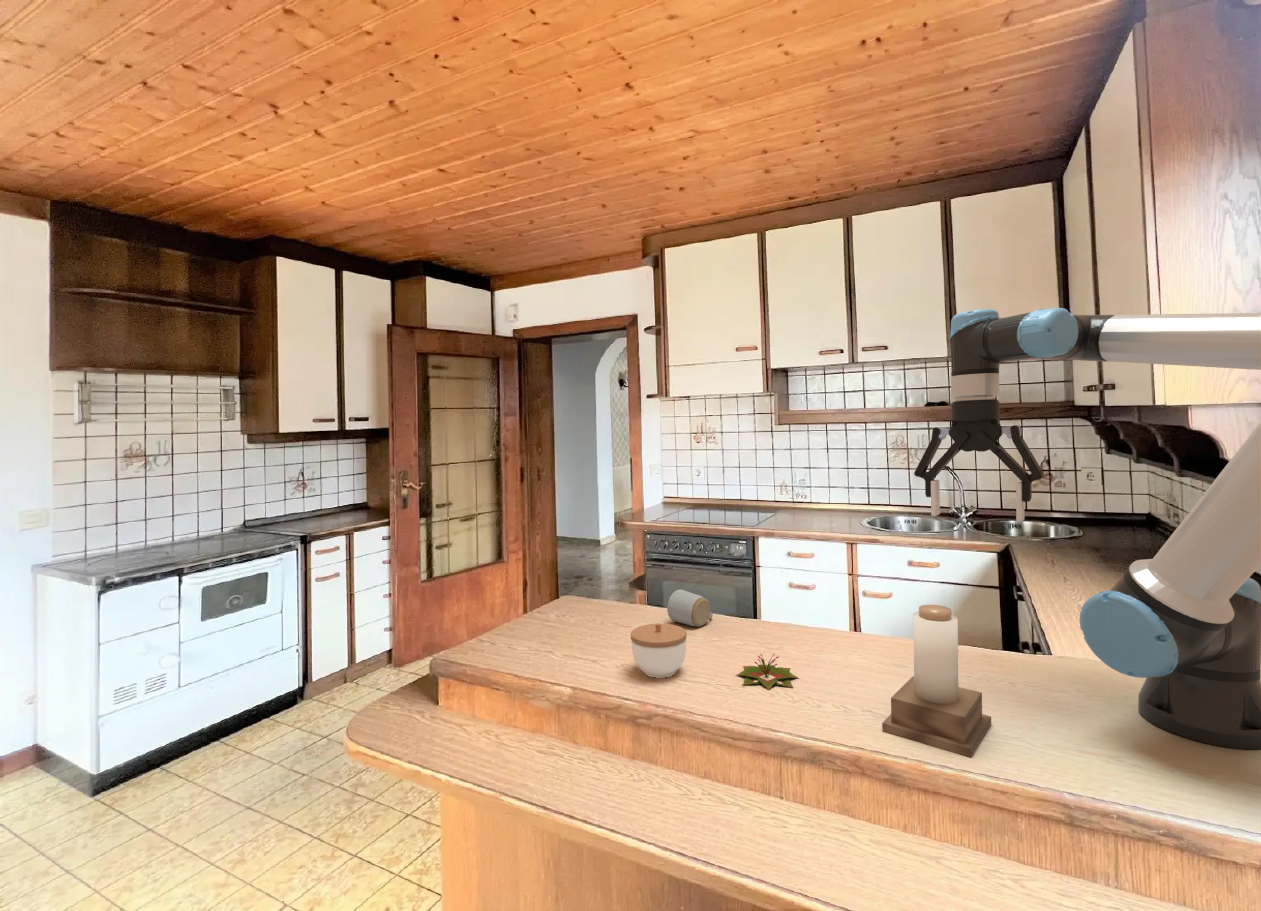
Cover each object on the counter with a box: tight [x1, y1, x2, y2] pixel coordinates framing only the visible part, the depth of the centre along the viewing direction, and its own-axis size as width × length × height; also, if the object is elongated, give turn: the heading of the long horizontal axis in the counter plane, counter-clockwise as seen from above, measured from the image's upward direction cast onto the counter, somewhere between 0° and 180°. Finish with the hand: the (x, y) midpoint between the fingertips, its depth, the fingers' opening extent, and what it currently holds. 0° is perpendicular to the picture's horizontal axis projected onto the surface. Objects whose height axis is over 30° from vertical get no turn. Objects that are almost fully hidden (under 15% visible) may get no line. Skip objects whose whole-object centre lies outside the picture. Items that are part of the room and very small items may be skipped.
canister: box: [912, 604, 960, 704], centre depth 92 cm, size 6×6×13 cm
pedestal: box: [881, 675, 992, 758], centre depth 92 cm, size 12×12×5 cm
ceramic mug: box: [666, 589, 714, 628], centre depth 146 cm, size 11×8×8 cm
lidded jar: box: [630, 622, 688, 679], centre depth 117 cm, size 11×11×9 cm
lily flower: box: [736, 653, 799, 691], centre depth 113 cm, size 12×12×5 cm
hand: (976, 517), depth 110 cm, fingers open, 13 cm apart
